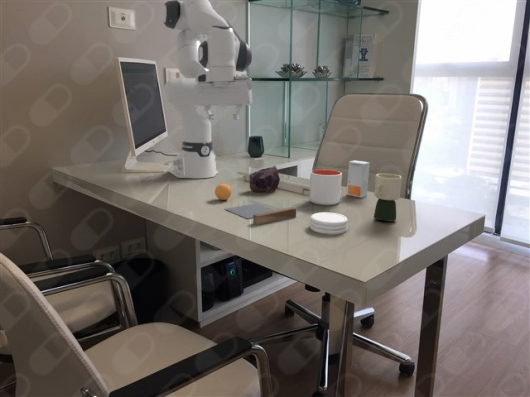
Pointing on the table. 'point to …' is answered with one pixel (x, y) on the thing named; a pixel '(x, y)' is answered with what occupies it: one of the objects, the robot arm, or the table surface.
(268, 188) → the rock
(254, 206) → the grey mark
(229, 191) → the ball
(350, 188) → the skincare box
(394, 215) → the character mug
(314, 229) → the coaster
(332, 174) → the cup
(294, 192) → the table surface
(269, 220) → the walnut bar
